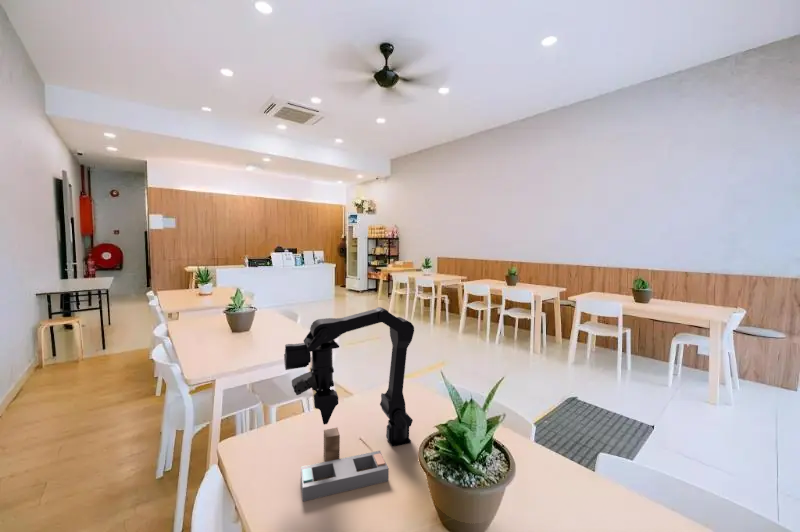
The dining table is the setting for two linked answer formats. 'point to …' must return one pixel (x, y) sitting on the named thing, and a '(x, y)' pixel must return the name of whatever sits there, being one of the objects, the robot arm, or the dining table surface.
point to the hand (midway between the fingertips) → (323, 415)
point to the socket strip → (343, 475)
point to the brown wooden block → (331, 444)
